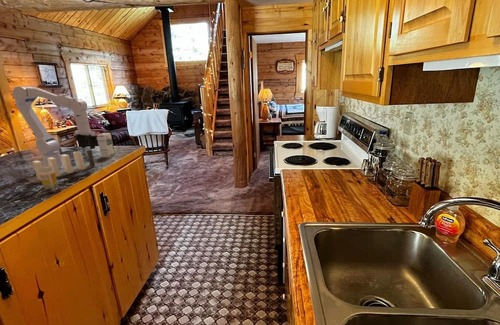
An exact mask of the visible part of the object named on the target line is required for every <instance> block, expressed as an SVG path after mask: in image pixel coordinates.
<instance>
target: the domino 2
mask: <svg viewBox="0 0 500 325" xmlns="http://www.w3.org/2000/svg"><path fill="white" fill-rule="evenodd" d="M47 161H48V164H49V166H51V167H52V169H51V170H53V171H54V172H55V175H56V178H58V177H57V176H59V177H62V176H61V175H60V172H59V170H60V168H58V164H57V161H56V158H53V157H50V158H47Z"/></svg>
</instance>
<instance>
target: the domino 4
mask: <svg viewBox="0 0 500 325" xmlns="http://www.w3.org/2000/svg"><path fill="white" fill-rule="evenodd" d="M72 155H73V158H74V159H73V160H74V162H75V166H76V167H77V169H81V170H80V171H83V170H82V169H84V170H86V169H85V165H84V163H85V161H84V157H83V152H81V151H73V152H72Z"/></svg>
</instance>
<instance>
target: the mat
mask: <svg viewBox="0 0 500 325" xmlns="http://www.w3.org/2000/svg"><path fill="white" fill-rule="evenodd" d="M94 164H95V166H93V167H91V166H90V163H89V161H87V162H84V165H85V169H82V170H81V169H77V167H76V165H72V168H73V172H72V173H71V174H73V173H76V172H79V171H83V170H87V169H91V168H95V167H97V166H101V165H104V164H105V163H103V162H98V161H94ZM59 172H60V175H61V176H57V177H56V178H59V177H62V176H65V175H70V173H67V172H65V171H64V168H60V169H59ZM25 180H26V181H28V182H32V183H33V184H37V183H40V182H41V183H42V181H41V180H38V179H37V176H36V175H35V176H30V177H27V178H25Z"/></svg>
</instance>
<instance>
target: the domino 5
mask: <svg viewBox="0 0 500 325" xmlns="http://www.w3.org/2000/svg"><path fill="white" fill-rule="evenodd" d="M85 150H86V154H87V157H88V162H89V163H90V166H91V168H94V167H96V166H95V164H94V155H93V152H92V150H93V149H90V148H85ZM93 166H94V167H93Z"/></svg>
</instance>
